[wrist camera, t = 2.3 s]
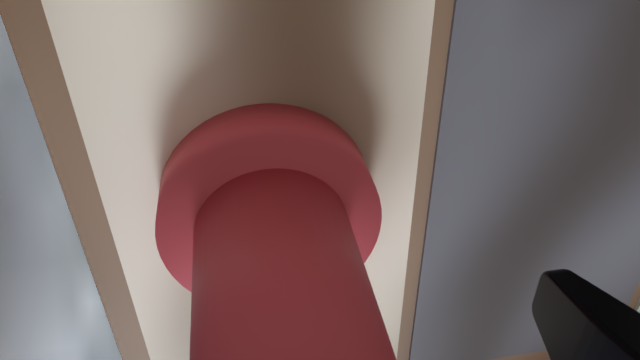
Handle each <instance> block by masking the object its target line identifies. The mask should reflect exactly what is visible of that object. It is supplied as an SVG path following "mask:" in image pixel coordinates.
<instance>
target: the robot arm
mask: <svg viewBox="0 0 640 360" xmlns="http://www.w3.org/2000/svg"><path fill="white" fill-rule="evenodd" d="M532 314H533V317H534V320H535V323H536V325H537V328H538V330H539V332H540V335H541V337H542V340H543V342H544V345H545V347H546V350H547V352H548V355H549V357H550V360H640V313H639V312H638V311H636V310H635V309H633V308H631V307H630V306H628V305H626V304H625V303H623V302H621V301H620V300H618V299H617V298H615V297H613V296H612V295H610V294H608V293H607V292H605V291H603V290H602V289H600V288H598V287H597V286H595V285H594V284H592V283H590V282H589V281H587V280H585V279H584V278H582V277H580V276H579V275H577V274H575V273H574V272H572V271H570V270H568V269H557V270H550V271H545V272H544V273H543V274H542V275H541V276H540V279H539V282H538V285H537V289H536V292H535V295H534V298H533V302H532Z"/></svg>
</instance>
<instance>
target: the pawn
mask: <svg viewBox="0 0 640 360" xmlns="http://www.w3.org/2000/svg"><path fill="white" fill-rule="evenodd" d="M381 222H382V208H381V202H380V197H379V194H378V192H377V189H376V186H375V184H374V182H373V179H372V177H371V175H370V173H369V170H368V168H367V166H366V163H365V161H364V159H363V156H362V154H361V152H360V151H359V149H358V147H357V145H356V143H355V142H354V141H353V140H352V138H351V137H350V136H349V135H348V134H347V133H346V132H345V131H344V130H343V129H342V128H341V127H340V126H339V125H337V124H336V123H334V122H333V121H331V120H330V119H329V118H327V117H325V116H323V115H321V114H319V113H317V112H314V111H311V110H308V109H306V108H303V107H298V106H293V105H288V104H277V103H265V104H253V105H247V106H242V107H238V108H234V109H231V110H228V111H225V112H223V113H220V114H218V115H215V116H213V117H212V118H210V119H208V120H206V121H204V122H203V123H201V124H200V125H198V126H197V127H196V128H194V129H193V130H192V131H190V132H189V133H188V134H187V135H186V136H185V137H184V138H183V139H182V140H181V141H180V142H179V144H178V145H177V146H176V148H175V149H174V150H173V151H172V153H171V155H170V157H169V159H168V160H167V162H166V165H165V167H164V170H163V173H162V177H161V182H160V188H159V196H158V204H157V212H156V220H155V239H156V245H157V249H158V252H159V255H160V258H161V259H162V261H163V263H164V265H165V267H166V268H167V270H168V271H169V272H170V274H171V275H172V276H173V278H174V279H176V280H177V281H178V282H179V283H180V284H181V285H182V286H183V287H184V288H186V289H187V290H188V291H190V292H191V293H192V295H191V327H190V359H189V360H396V357H395V354H394V351H393V348H392V345H391V342H390V339H389V336H388V333H387V330H386V327H385V324H384V321H383V318H382V315H381V312H380V309H379V307H378V304H377V301H376V298H375V295H374V292H373V289H372V286H371V283H370V280H369V277H368V274H367V271H366V268H365V265H364V263H365V262H366V260H367V259H368V257H369V256H370V254H371V253H372V251H373V249H374V246H375V244H376V242H377V239H378V236H379V233H380V228H381Z"/></svg>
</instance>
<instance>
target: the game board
mask: <svg viewBox="0 0 640 360" xmlns="http://www.w3.org/2000/svg"><path fill="white" fill-rule="evenodd" d="M0 14H1V17H2V20H3V23H4V25H5V28H6V31H7V34H8V37H9V40H10V42H11V45H12V48H13V51H14V54H15V57H16V59H17V62H18V65H19V68H20V71H21V74H22V77H23V79H24V82H25V85H26V88H27V91H28V94H29V96H30V99H31V102H32V105H33V108H34V111H35V113H36V116H37V119H38V122H39V125H40V128H41V130H42V133H43V136H44V139H45V142H46V145H47V148H48V150H49V153H50V156H51V159H52V162H53V165H54V167H55V170H56V173H57V176H58V179H59V182H60V184H61V187H62V190H63V193H64V196H65V199H66V202H67V204H68V207H69V210H70V213H71V216H72V219H73V221H74V224H75V227H76V230H77V233H78V236H79V238H80V241H81V244H82V247H83V250H84V253H85V255H86V258H87V261H88V264H89V267H90V270H91V273H92V275H93V278H94V281H95V284H96V287H97V290H98V292H99V295H100V298H101V301H102V304H103V307H104V309H105V312H106V315H107V318H108V321H109V324H110V327H111V329H112V332H113V335H114V338H115V341H116V344H117V346H118V349H119V352H120V355H121V358H122V360H189V359H190V327H191V295H192V293H191V292H190V291H188V290H187V289H186V288H184V287H183V286H182V285H181V284H180V283H179V282H178V281H177V280H176V279H174V278H173V276H172V275H171V274H170V272H169V271H168V270H167V268H166V267H165V265H164V263H163V261H162V259H161V258H160V255H159V252H158V249H157V245H156V239H155V220H156V212H157V204H158V196H159V188H160V182H161V177H162V173H163V170H164V167H165V165H166V162H167V160H168V159H169V157H170V155H171V153H172V151H173V150H174V149H175V148H176V146H177V145H178V144H179V142H180V141H181V140H182V139H183V138H184V137H185V136H186V135H187V134H188V133H189V132H190V131H192V130H193V129H194V128H196V127H197V126H198V125H200V124H201V123H203V122H204V121H206V120H208V119H210V118H212V117H213V116H215V115H218V114H220V113H223V112H225V111H228V110H231V109H234V108H238V107H242V106H247V105H253V104H265V103H277V104H288V105H293V106H298V107H303V108H306V109H308V110H311V111H314V112H317V113H319V114H321V115H323V116H325V117H327V118H329V119H330V120H331V121H333V122H334V123H336V124H337V125H339V126H340V127H341V128H342V129H343V130H344V131H345V132H346V133H347V134H348V135H349V136H350V137H351V138H352V140H353V141H354V142H355V143H356V145H357V147H358V149H359V151H360V152H361V154H362V156H363V159H364V161H365V163H366V166H367V168H368V170H369V173H370V175H371V177H372V179H373V182H374V184H375V186H376V189H377V192H378V194H379V197H380V202H381V208H382V222H381V228H380V233H379V236H378V239H377V242H376V244H375V246H374V249H373V251H372V253H371V254H370V256H369V257H368V259H367V260H366V262H365V263H364V265H365V268H366V271H367V274H368V277H369V280H370V283H371V286H372V289H373V292H374V295H375V298H376V301H377V304H378V307H379V309H380V312H381V315H382V318H383V321H384V324H385V327H386V330H387V333H388V336H389V339H390V342H391V345H392V348H393V351H394V354H395V357H396V360H550V357H549V355H548V352H547V350H546V347H545V345H544V342H543V340H542V337H541V335H540V332H539V330H538V328H537V325H536V323H535V320H534V317H533V314H532V302H533V298H534V295H535V292H536V289H537V285H538V282H539V279H540V276H541V275H542V274H543V273H544V272H545V271H550V270H557V269H568V270H570V271H572V272H574V273H575V274H577V275H579V276H580V277H582V278H584V279H585V280H587V281H589V282H590V283H592V284H594V285H595V286H597V287H598V288H600V289H602V290H603V291H605V292H607V293H608V294H610V295H612V296H613V297H615V298H617V299H618V300H620V301H621V302H623V303H625V304H626V305H628V306H630V307H631V308H633V309H635V310H636V311H638V312H639V313H640V0H0Z"/></svg>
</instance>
